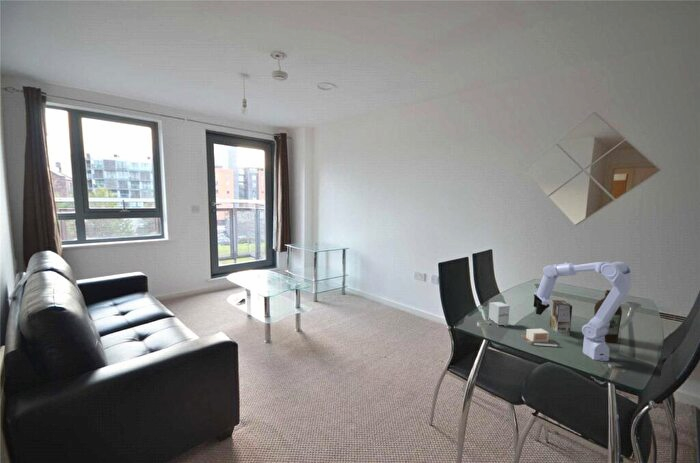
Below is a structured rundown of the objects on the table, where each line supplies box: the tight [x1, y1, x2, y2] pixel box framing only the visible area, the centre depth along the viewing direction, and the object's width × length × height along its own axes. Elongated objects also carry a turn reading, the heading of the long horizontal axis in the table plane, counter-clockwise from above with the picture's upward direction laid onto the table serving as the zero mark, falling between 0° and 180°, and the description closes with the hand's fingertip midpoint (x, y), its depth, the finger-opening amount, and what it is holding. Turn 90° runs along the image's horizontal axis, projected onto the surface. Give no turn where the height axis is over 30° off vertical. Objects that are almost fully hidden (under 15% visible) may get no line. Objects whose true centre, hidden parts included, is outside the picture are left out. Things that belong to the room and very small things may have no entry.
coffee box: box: [549, 299, 573, 337], centre depth 161 cm, size 9×6×16 cm
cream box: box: [525, 328, 550, 342], centre depth 149 cm, size 5×8×4 cm, turn 97°
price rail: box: [530, 341, 561, 348], centre depth 143 cm, size 1×12×2 cm, turn 82°
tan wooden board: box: [519, 333, 561, 348], centre depth 148 cm, size 12×13×2 cm
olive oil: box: [593, 289, 623, 344], centre depth 154 cm, size 11×11×25 cm
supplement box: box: [488, 301, 511, 327], centre depth 169 cm, size 7×7×13 cm
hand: (536, 310), depth 157 cm, fingers open, 7 cm apart
